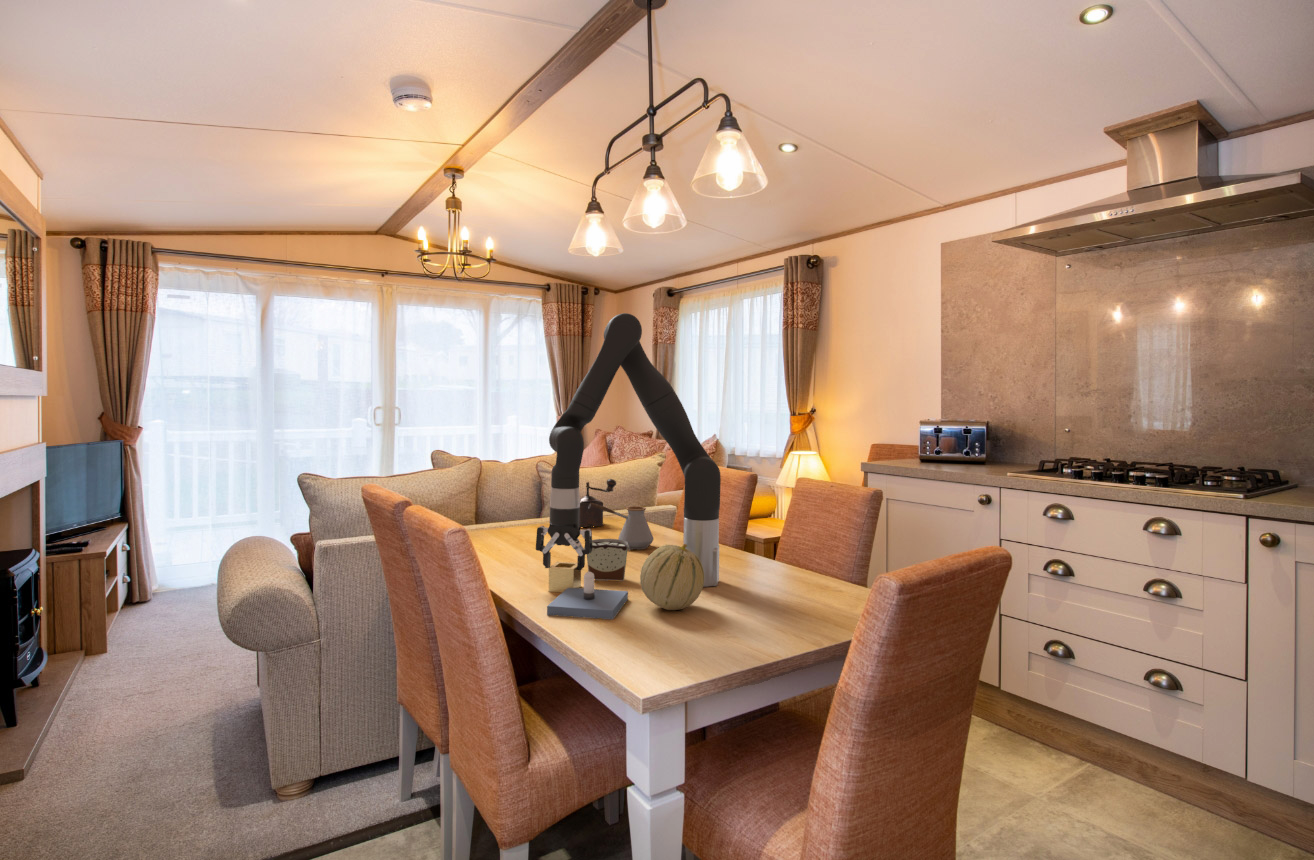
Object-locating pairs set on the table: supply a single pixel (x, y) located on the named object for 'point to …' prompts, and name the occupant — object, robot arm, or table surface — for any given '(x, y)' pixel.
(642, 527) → the coffee pot
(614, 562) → the food container
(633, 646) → the table surface
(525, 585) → the table surface
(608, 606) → the post stand
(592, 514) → the manual coffee grinder
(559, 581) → the brass collar
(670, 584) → the cantaloupe
